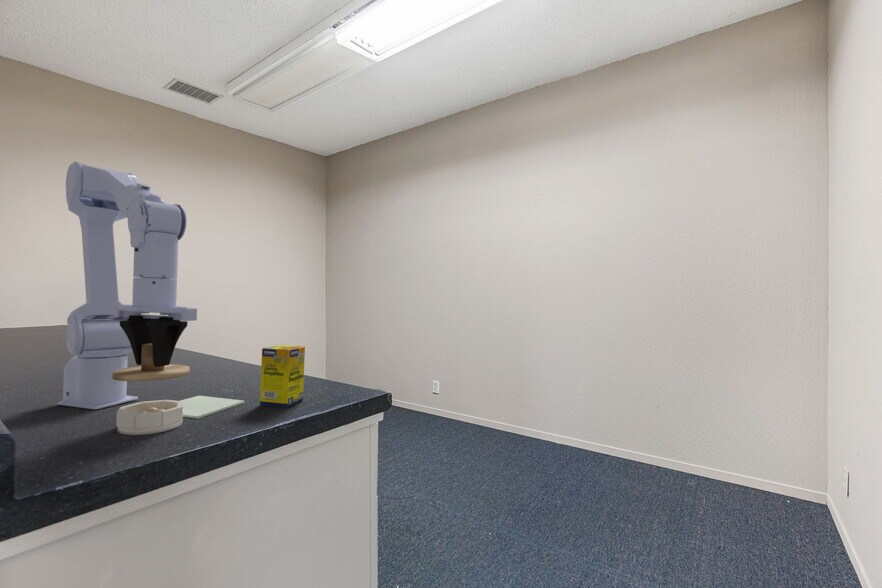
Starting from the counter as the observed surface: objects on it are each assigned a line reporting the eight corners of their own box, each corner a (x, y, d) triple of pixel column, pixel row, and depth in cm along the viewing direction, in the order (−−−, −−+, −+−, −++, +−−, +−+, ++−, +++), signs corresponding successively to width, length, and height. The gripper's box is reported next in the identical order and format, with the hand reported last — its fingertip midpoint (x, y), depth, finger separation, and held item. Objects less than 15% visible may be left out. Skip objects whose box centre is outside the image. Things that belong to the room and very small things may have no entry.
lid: (95, 378, 62) (95, 346, 62) (156, 367, 72) (157, 339, 72) (147, 383, 60) (148, 349, 60) (204, 371, 69) (204, 342, 70)
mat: (146, 411, 73) (147, 409, 73) (198, 397, 84) (198, 395, 84) (198, 418, 70) (198, 416, 70) (244, 402, 81) (245, 400, 81)
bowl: (103, 431, 63) (104, 411, 63) (154, 416, 71) (155, 398, 71) (147, 437, 61) (147, 417, 61) (195, 421, 69) (195, 403, 69)
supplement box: (287, 408, 78) (289, 349, 78) (258, 405, 79) (260, 347, 79) (304, 400, 84) (305, 346, 84) (277, 398, 85) (278, 344, 85)
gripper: (94, 276, 64) (91, 365, 64) (169, 278, 60) (166, 372, 60) (138, 278, 71) (136, 358, 71) (208, 280, 67) (206, 365, 67)
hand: (152, 364), depth 66 cm, fingers closed on lid, 3 cm apart
